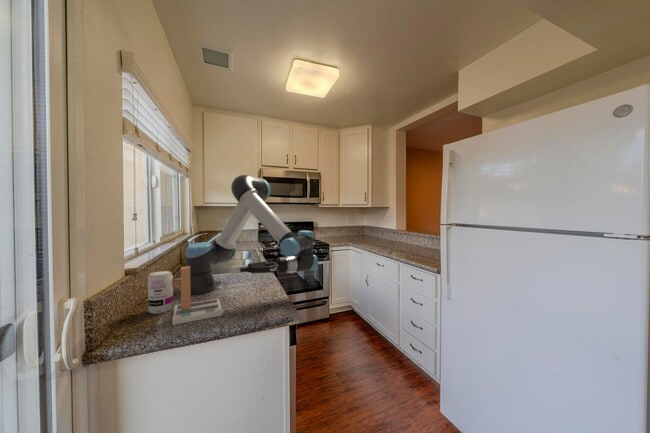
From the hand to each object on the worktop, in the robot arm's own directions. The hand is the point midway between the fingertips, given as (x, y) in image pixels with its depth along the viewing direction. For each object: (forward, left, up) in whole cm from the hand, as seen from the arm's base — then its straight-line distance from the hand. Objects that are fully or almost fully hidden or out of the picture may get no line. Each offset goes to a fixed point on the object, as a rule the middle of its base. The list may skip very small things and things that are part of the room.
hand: (231, 270), depth 98 cm
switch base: (0, -12, -15) cm, 20 cm away
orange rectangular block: (0, -16, -13) cm, 21 cm away
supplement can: (-10, -25, -16) cm, 32 cm away
